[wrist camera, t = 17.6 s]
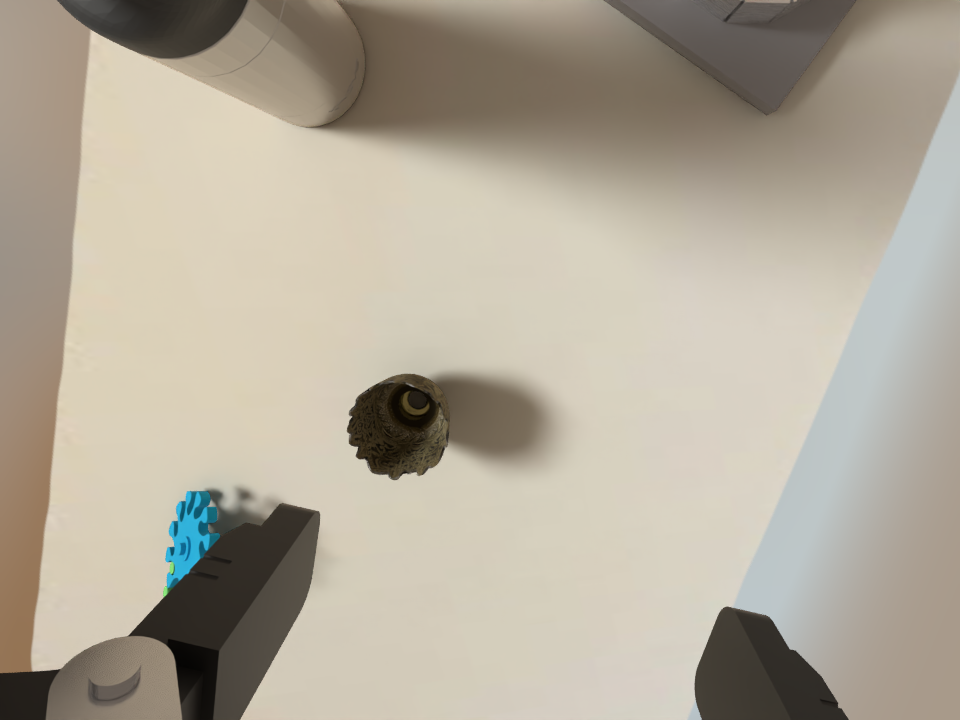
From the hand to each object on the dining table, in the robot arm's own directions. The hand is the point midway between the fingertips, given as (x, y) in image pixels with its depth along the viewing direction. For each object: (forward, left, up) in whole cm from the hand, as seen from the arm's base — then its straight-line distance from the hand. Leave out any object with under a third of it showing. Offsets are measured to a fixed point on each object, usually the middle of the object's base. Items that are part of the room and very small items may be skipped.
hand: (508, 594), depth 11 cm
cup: (-3, -11, -35) cm, 37 cm away
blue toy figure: (-13, -33, -35) cm, 50 cm away
